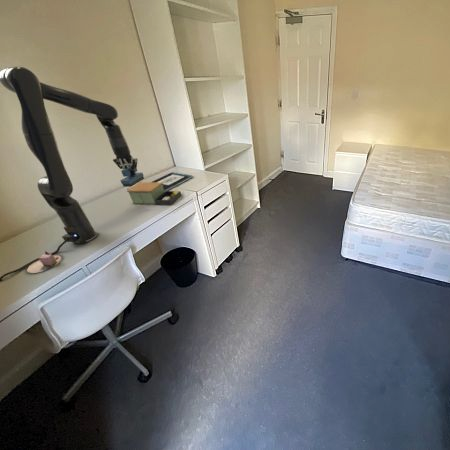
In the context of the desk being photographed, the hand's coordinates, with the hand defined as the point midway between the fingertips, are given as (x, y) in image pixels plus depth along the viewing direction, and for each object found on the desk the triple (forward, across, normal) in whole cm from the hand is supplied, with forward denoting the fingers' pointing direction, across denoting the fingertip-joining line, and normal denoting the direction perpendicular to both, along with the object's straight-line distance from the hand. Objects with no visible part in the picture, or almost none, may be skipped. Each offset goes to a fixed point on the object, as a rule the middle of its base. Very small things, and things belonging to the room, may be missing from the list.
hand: (131, 175), depth 147 cm
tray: (+20, +11, +10) cm, 25 cm away
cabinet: (+20, -2, +10) cm, 22 cm away
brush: (+4, 0, 0) cm, 4 cm away
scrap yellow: (+18, +14, +14) cm, 27 cm away
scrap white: (+18, +11, +7) cm, 22 cm away
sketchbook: (+20, -5, +36) cm, 41 cm away
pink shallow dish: (+22, -13, -53) cm, 59 cm away
